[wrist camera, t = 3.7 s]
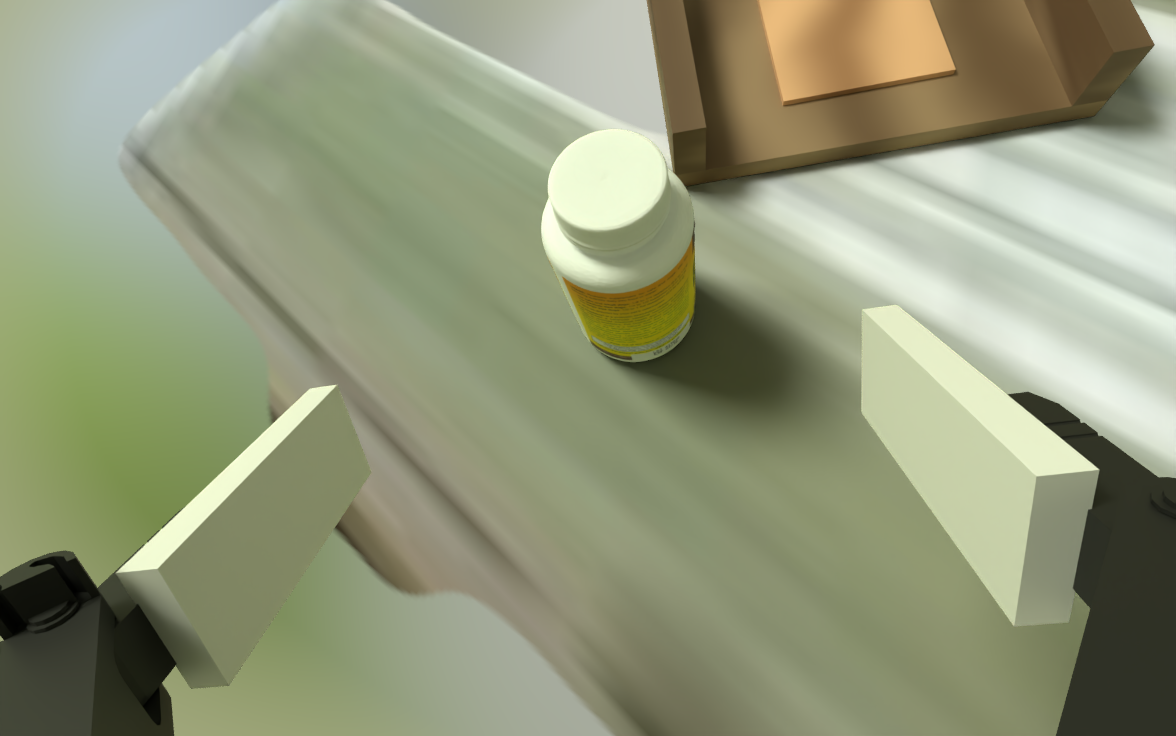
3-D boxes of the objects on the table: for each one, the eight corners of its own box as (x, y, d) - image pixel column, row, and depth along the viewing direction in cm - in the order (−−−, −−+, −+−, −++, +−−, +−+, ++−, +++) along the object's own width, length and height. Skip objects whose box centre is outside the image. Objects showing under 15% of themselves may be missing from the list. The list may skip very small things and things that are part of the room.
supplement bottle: (718, 328, 28) (728, 196, 18) (613, 387, 28) (569, 285, 18) (658, 240, 30) (639, 81, 20) (560, 294, 30) (495, 160, 20)
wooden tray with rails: (999, -86, 33) (1038, -171, 29) (1094, 115, 28) (1154, 45, 24) (645, -10, 36) (638, -79, 32) (675, 187, 31) (672, 133, 27)
